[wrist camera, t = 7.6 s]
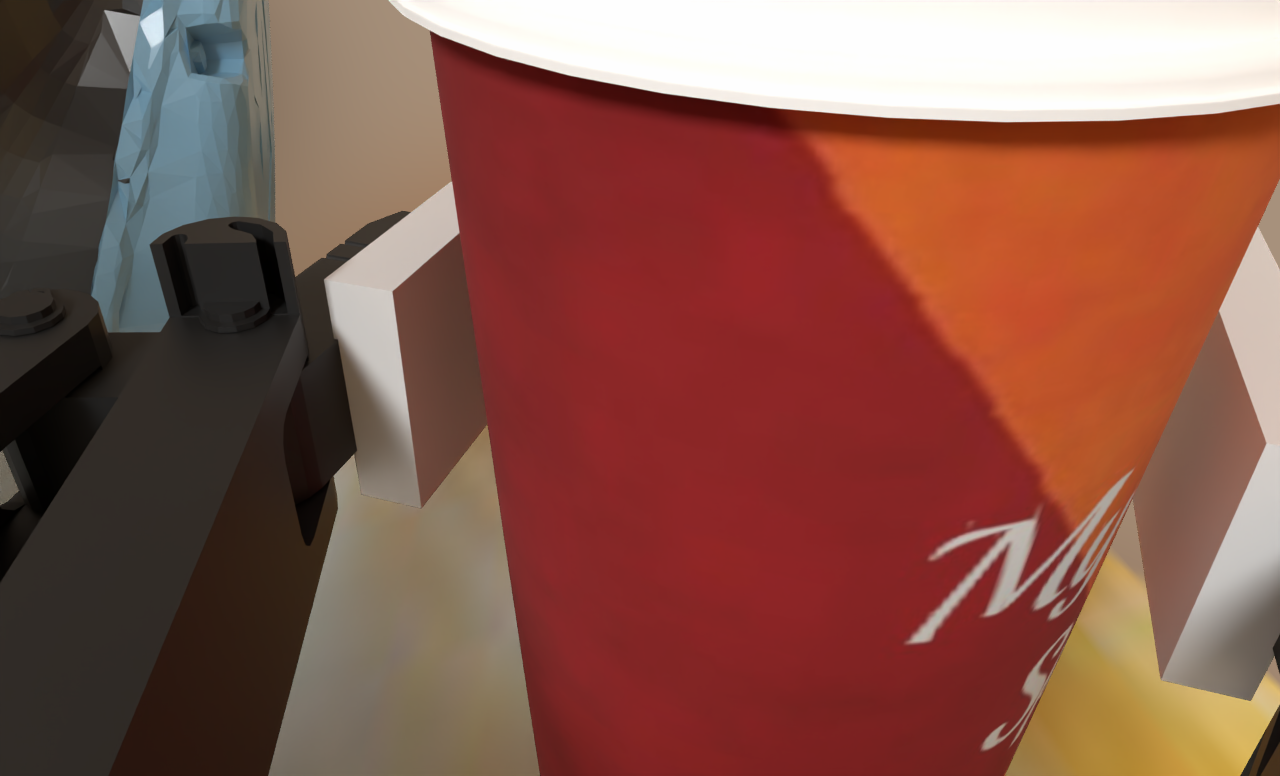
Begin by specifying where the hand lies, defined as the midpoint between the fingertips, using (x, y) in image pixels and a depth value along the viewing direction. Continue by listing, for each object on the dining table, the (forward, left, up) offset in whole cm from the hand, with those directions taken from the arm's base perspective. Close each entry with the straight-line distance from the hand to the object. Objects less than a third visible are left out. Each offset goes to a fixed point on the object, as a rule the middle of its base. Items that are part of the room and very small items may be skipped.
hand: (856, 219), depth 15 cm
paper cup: (+4, -3, -9) cm, 10 cm away
